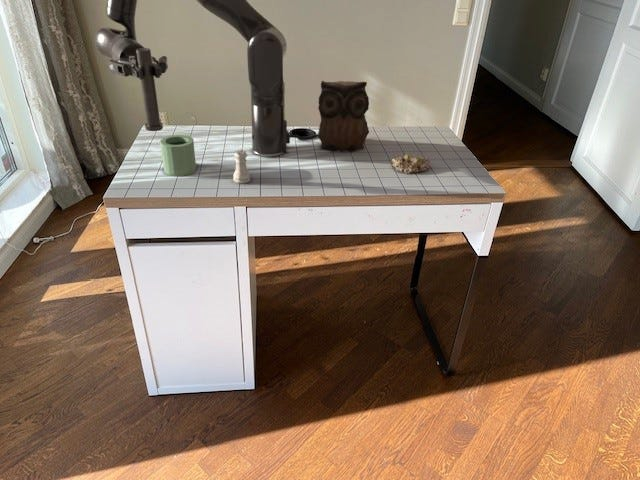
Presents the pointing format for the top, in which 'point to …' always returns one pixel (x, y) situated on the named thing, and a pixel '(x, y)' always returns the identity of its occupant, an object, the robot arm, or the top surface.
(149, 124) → the rod
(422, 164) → the mineral rock
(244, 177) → the rook chess piece
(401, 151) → the top surface
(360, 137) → the owl
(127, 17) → the robot arm
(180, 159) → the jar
